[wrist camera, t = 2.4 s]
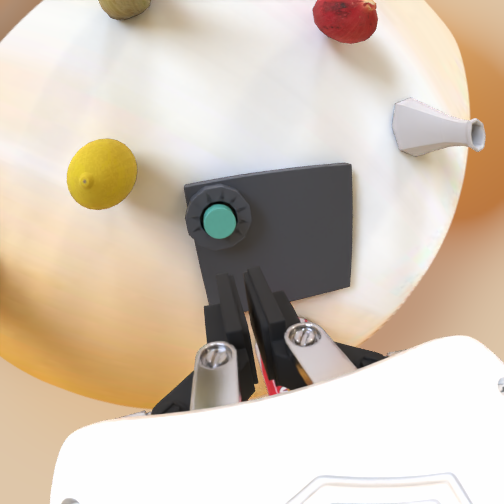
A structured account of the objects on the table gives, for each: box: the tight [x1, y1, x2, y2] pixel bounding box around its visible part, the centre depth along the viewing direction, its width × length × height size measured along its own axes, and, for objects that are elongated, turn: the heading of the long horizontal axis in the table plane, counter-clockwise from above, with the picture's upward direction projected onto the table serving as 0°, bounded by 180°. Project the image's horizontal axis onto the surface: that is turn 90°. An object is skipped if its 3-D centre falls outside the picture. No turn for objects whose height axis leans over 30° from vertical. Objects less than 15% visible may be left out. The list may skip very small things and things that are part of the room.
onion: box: [313, 0, 378, 44], centre depth 16 cm, size 6×6×8 cm
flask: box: [392, 98, 485, 157], centre depth 21 cm, size 7×7×10 cm
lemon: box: [67, 139, 137, 210], centre depth 19 cm, size 6×6×8 cm
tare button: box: [203, 204, 236, 239], centre depth 23 cm, size 3×3×2 cm
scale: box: [184, 163, 352, 312], centre depth 27 cm, size 16×14×3 cm
